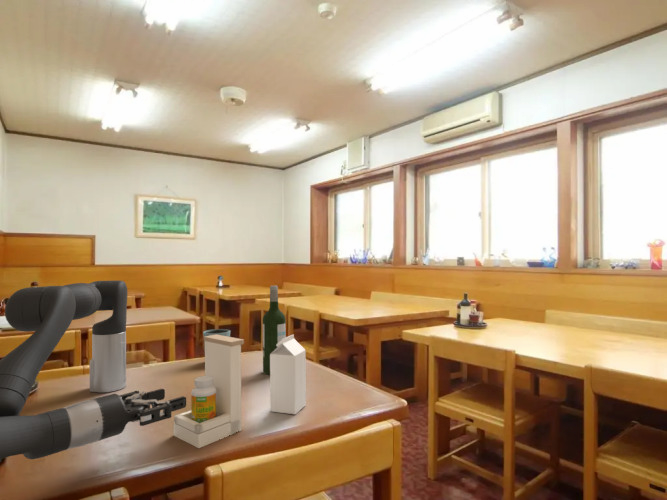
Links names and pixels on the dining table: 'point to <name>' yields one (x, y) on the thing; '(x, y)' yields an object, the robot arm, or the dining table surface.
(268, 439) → the dining table surface
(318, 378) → the dining table surface
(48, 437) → the robot arm
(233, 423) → the white feeder tower
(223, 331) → the drinking glass
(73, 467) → the dining table surface
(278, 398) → the milk carton
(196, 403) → the supplement bottle
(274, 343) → the wine bottle
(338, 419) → the dining table surface
